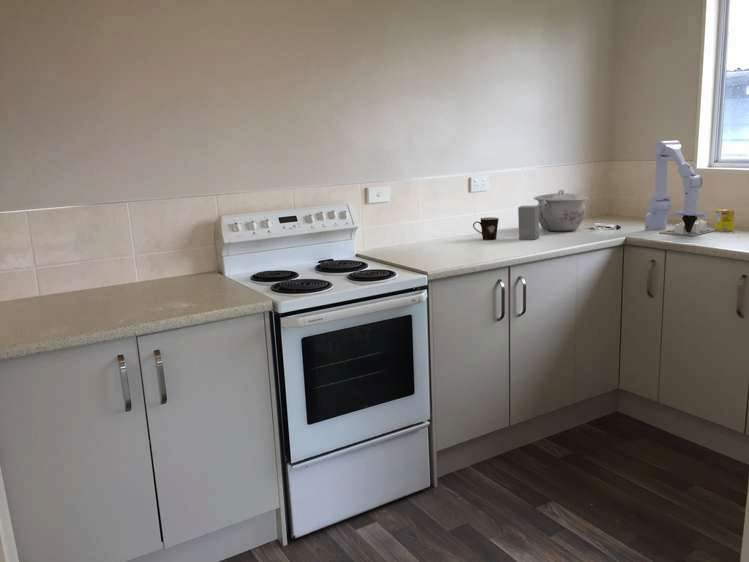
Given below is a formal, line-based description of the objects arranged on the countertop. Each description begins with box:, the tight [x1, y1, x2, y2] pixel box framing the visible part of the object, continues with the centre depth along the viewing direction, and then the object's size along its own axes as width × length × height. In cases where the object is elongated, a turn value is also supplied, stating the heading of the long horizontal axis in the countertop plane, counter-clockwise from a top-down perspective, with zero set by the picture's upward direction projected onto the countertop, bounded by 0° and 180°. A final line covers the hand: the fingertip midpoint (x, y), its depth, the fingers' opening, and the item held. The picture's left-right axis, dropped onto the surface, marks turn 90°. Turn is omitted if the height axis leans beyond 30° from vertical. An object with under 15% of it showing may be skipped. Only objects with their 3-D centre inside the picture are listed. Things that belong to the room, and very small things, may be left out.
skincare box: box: [517, 204, 540, 240], centre depth 315 cm, size 8×7×16 cm
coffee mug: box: [472, 216, 500, 241], centre depth 319 cm, size 12×9×10 cm
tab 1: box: [674, 221, 687, 234], centre depth 307 cm, size 4×4×5 cm
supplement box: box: [714, 209, 735, 232], centre depth 315 cm, size 6×6×11 cm
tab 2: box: [696, 219, 708, 231], centre depth 314 cm, size 4×4×5 cm
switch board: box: [658, 228, 718, 238], centre depth 312 cm, size 16×24×2 cm, turn 130°
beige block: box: [691, 220, 700, 233], centre depth 310 cm, size 4×4×5 cm
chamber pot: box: [533, 189, 590, 233], centre depth 341 cm, size 28×28×21 cm
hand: (688, 232), depth 305 cm, fingers closed
